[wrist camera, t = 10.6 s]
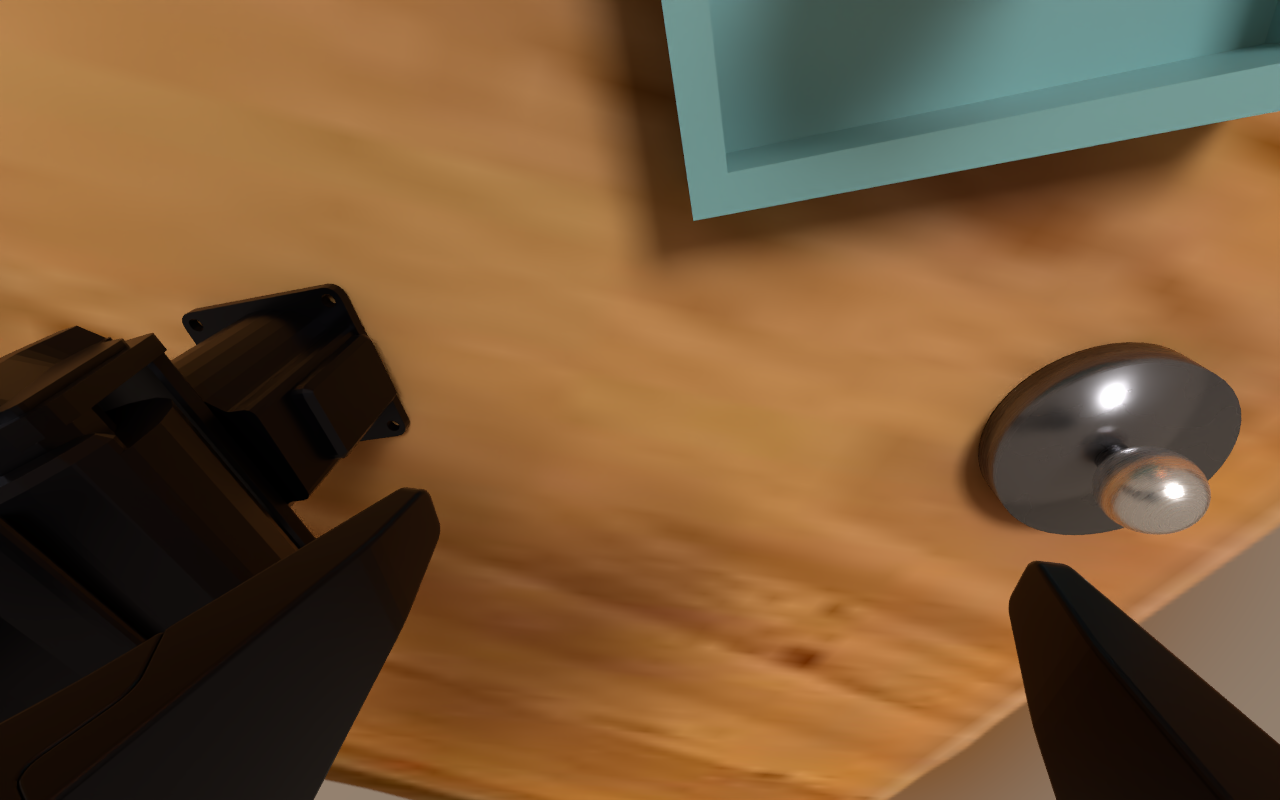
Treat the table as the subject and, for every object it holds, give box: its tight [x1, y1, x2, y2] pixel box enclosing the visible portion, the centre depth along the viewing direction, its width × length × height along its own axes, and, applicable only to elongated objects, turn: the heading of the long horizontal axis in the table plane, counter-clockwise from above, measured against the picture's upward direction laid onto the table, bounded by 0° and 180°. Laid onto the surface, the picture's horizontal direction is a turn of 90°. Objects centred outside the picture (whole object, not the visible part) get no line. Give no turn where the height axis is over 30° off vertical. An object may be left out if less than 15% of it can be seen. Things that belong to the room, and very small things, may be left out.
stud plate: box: [978, 342, 1241, 535], centre depth 20 cm, size 8×8×5 cm
